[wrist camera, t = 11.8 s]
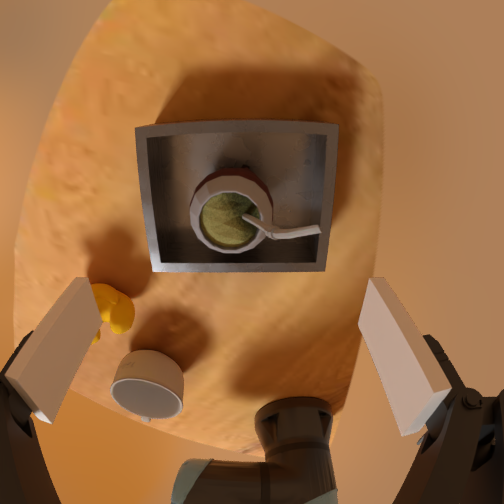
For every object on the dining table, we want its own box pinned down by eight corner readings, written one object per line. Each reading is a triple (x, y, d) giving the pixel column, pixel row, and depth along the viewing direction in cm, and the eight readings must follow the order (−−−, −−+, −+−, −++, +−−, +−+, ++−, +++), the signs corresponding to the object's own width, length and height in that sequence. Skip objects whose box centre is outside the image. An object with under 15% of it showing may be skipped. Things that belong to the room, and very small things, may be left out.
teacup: (131, 329, 39) (114, 369, 32) (199, 356, 42) (192, 399, 34) (117, 376, 45) (105, 411, 38) (173, 398, 47) (166, 434, 40)
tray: (314, 246, 33) (324, 271, 28) (166, 246, 33) (152, 271, 28) (323, 121, 27) (339, 124, 22) (154, 123, 26) (134, 127, 22)
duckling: (74, 301, 37) (44, 347, 28) (67, 271, 35) (31, 315, 26) (143, 314, 38) (121, 369, 29) (140, 282, 35) (113, 336, 26)
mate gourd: (190, 210, 30) (148, 297, 17) (217, 140, 27) (186, 172, 13) (256, 236, 31) (262, 335, 18) (288, 169, 28) (325, 228, 15)
